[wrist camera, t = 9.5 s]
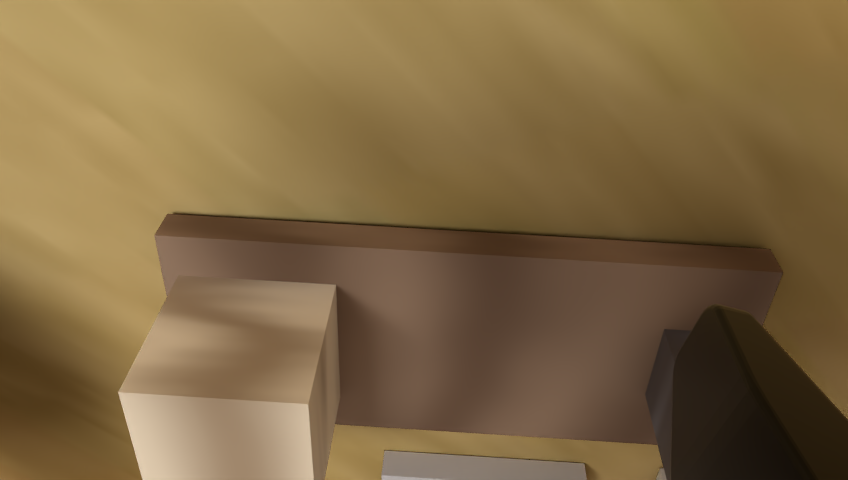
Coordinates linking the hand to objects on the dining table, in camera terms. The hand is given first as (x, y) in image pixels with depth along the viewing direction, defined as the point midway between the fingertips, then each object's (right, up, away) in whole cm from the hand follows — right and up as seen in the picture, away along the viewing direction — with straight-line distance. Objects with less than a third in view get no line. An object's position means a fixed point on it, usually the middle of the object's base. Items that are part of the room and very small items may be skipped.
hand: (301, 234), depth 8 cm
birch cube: (-4, -3, +17) cm, 18 cm away
